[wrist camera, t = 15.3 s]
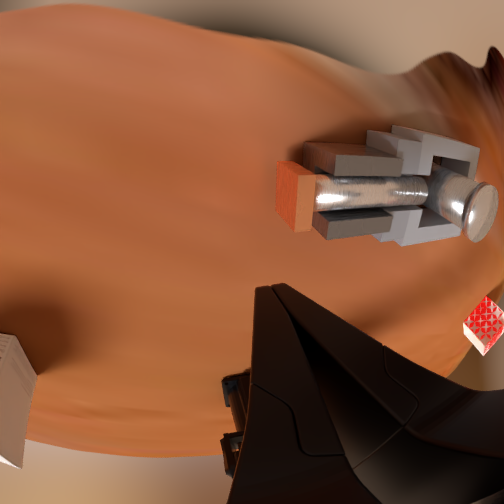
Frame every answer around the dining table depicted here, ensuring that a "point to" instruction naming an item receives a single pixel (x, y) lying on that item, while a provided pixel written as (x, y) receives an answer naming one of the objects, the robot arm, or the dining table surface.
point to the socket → (419, 163)
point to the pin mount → (350, 164)
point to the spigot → (461, 201)
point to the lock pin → (339, 193)
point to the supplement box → (14, 399)
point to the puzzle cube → (484, 325)
